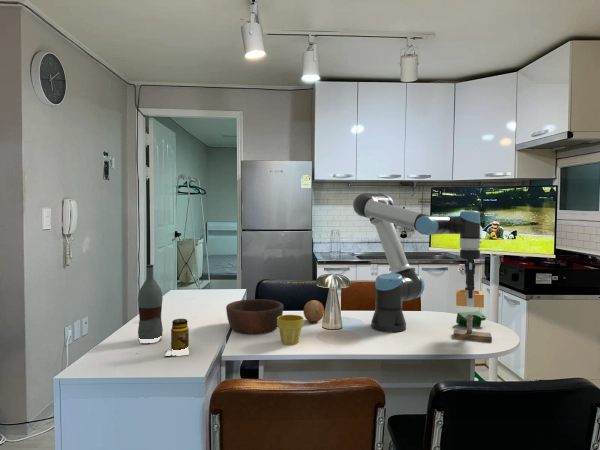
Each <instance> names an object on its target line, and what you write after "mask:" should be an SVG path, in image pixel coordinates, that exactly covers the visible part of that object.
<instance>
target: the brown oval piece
mask: <svg viewBox="0 0 600 450" xmlns="http://www.w3.org/2000/svg"><path fill="white" fill-rule="evenodd" d="M303 315H304V316H303V317H304V318H305V320H307V321H308V322H311V323H315V322H319V321H321V320H322V319H323V318H324V315H325V308H324V305H323V303H322V302H320V301H318V300H316V299H315V300H314V299H313V300H308V301H307V302H306V304H304V307H303Z"/></svg>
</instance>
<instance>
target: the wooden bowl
mask: <svg viewBox="0 0 600 450" xmlns="http://www.w3.org/2000/svg"><path fill="white" fill-rule="evenodd" d="M225 309H226V310H225V311H226V316H227V320H228V324H229V326H230V328H231V329H232V330H233V331H234V332H236V333H239V334H247V335H258V334H261V335H262V334H267V333H270V332H273V331H275V330H277V329H279V327H277V317H278V316H281V315H284V314H283V313H284V303H282V302H280V301H278V300H273V299H260V298H253V299H250V298H249V299H241V300H236V301H231V302H230V303H228V304H227V305H226V307H225Z"/></svg>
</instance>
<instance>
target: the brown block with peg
mask: <svg viewBox="0 0 600 450" xmlns="http://www.w3.org/2000/svg"><path fill="white" fill-rule="evenodd" d="M466 318H467V325H466V330H463V329H453V339H459V340H467V341H469V340H470V341H478V342H479V341H480V342H488V343H492V342H493V337H492V333H491V332H485V331H477V330H476V331H475V330H473V325H472V320H473V316H472V315H471V314H468V315H467V316H466Z"/></svg>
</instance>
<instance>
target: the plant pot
mask: <svg viewBox="0 0 600 450" xmlns="http://www.w3.org/2000/svg"><path fill="white" fill-rule="evenodd" d="M304 318H305V317H304V316H302V315H298V314H282V315H281V316H278V317H277V327H278V331H279V335H280V341H281V344H283V345H288V346H294V345H298V343H299V341H300V338H301V334H302V333H301V332H302V328H303V327H304V320H305V319H304ZM293 344H294V345H293Z"/></svg>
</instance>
